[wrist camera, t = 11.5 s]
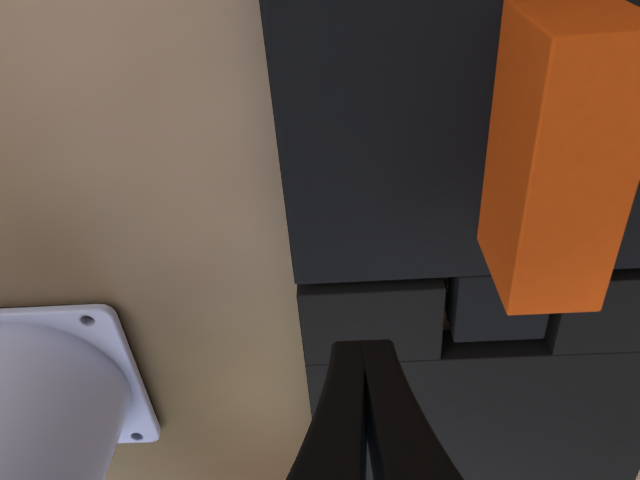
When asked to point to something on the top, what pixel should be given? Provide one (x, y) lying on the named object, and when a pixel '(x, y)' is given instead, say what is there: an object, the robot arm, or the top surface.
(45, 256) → the top surface
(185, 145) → the top surface
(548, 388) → the black pad
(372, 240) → the charcoal pad
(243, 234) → the top surface
